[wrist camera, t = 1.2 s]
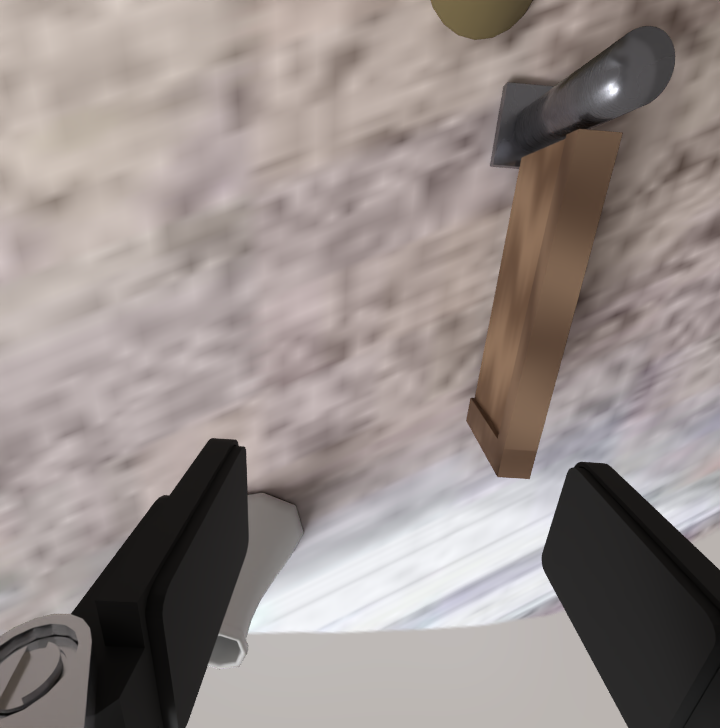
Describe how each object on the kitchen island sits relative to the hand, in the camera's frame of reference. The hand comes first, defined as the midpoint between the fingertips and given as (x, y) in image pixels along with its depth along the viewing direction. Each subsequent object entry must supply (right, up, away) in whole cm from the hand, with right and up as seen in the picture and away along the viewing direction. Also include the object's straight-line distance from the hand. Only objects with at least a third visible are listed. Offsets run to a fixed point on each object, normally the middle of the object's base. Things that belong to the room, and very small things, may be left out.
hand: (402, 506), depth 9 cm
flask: (-9, -10, +23) cm, 27 cm away
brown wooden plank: (+8, +7, +15) cm, 19 cm away
